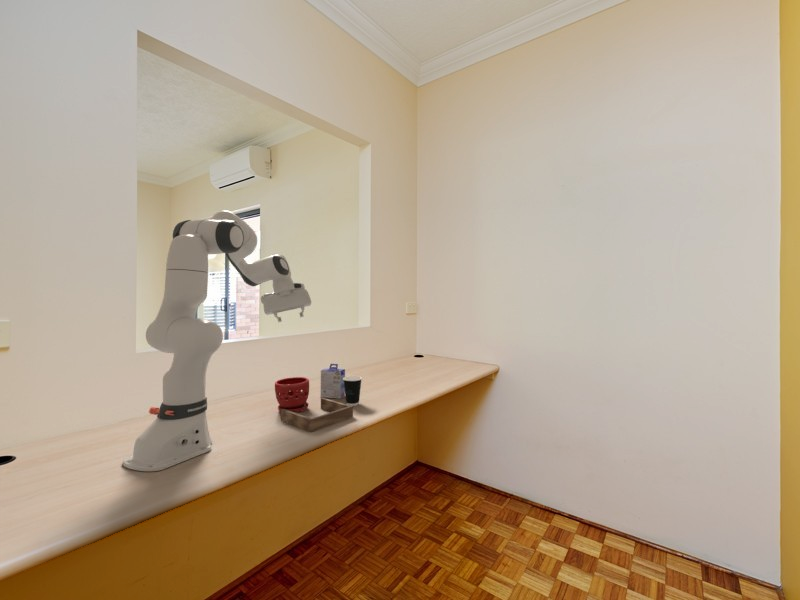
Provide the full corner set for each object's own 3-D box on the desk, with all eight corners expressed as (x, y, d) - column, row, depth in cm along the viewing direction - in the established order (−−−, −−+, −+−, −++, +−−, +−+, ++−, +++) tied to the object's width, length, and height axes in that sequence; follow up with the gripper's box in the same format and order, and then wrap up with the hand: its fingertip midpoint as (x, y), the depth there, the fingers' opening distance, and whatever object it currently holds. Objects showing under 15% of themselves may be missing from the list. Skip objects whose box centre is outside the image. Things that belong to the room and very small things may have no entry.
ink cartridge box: (345, 395, 166) (345, 363, 166) (341, 399, 161) (341, 366, 161) (325, 394, 168) (325, 362, 168) (320, 397, 163) (320, 365, 163)
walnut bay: (281, 420, 134) (281, 409, 134) (323, 407, 149) (323, 397, 149) (311, 432, 123) (311, 420, 123) (352, 416, 138) (353, 406, 138)
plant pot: (303, 403, 155) (303, 374, 154) (313, 412, 144) (313, 381, 143) (271, 408, 148) (271, 378, 148) (279, 418, 137) (279, 385, 136)
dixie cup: (359, 400, 159) (359, 375, 159) (364, 405, 151) (364, 379, 151) (341, 402, 156) (341, 376, 156) (345, 408, 149) (345, 380, 148)
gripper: (259, 292, 158) (265, 322, 154) (307, 283, 164) (314, 311, 160) (260, 297, 164) (267, 326, 160) (307, 288, 170) (314, 316, 166)
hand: (291, 319), depth 160 cm, fingers open, 8 cm apart
